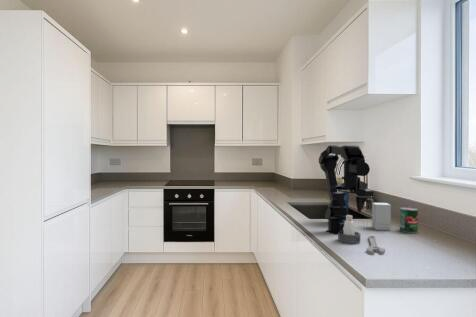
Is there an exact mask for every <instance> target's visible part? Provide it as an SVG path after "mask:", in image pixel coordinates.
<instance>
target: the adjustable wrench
mask: <svg viewBox="0 0 476 317" xmlns="http://www.w3.org/2000/svg"><path fill="white" fill-rule="evenodd" d="M368 240H369V245H370V246H368V247H367V248H366V253H367V254H369V255H372V256H374V255H375V253H378V254H379V255H381V256H384V255H385V253H386V249H385V248H383V247H380V246H378V243H377V240H376V237H375V235H369V236H368Z"/></svg>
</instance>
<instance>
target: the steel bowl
mask: <svg viewBox="0 0 476 317" xmlns="http://www.w3.org/2000/svg"><path fill="white" fill-rule="evenodd" d="M343 233H344V229H343V231H339V232H338V234H337V241H338V242H339V243H343V244H346V245H357V244H360V243H361V233H360V232H359V231H355V235H345V234H343Z"/></svg>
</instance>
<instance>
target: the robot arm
mask: <svg viewBox="0 0 476 317" xmlns="http://www.w3.org/2000/svg"><path fill="white" fill-rule="evenodd" d="M339 156H340V157H341V159H343V161H342V163H341V164H343V176H341V178H342V179H343V185H344V186H339V185H338V184H337V176H336V171H335V170H336V168H337V166H338V161H339V159H340V158H339ZM318 164H319V167H320V169H321V170H322V172H324V174H325V180H326V185H327V186H326V187H327V190H328V197H329V201H328V203H327V209H326V211H325V213H324V217H325V219H326V220H327V221H328V223H327V225H328V229H326V230H325V232H328V233H331V234H334V235H338V232H339V231H343V230H344V227H343V220H346V215H347V212H348V213H349V210H348V211H347V207H346V203H345V200H344V196H345V194H346V193H343V192H348V194H349V193H350V194H355V195H356V196H355V201H356V208H357V213H362V210H363V207H364V205H365V203H366V201H367V200H368V199H369V198H371V197H374V190H373V189H372V188H368V183H366V182H364V181H363V180H361V177H365V176H367V175H369V173H370V170H371V169H370V166H369V164H368V163H367V162H366V159H365V155H364V154H363V151H362V150H361V147H360V146H359V145H342V146H340V145H331V144H330V145H328V146H327V147H326V148H325V149H324V150H323V151H322V152H321V153H320V155H319V157H318Z"/></svg>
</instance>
